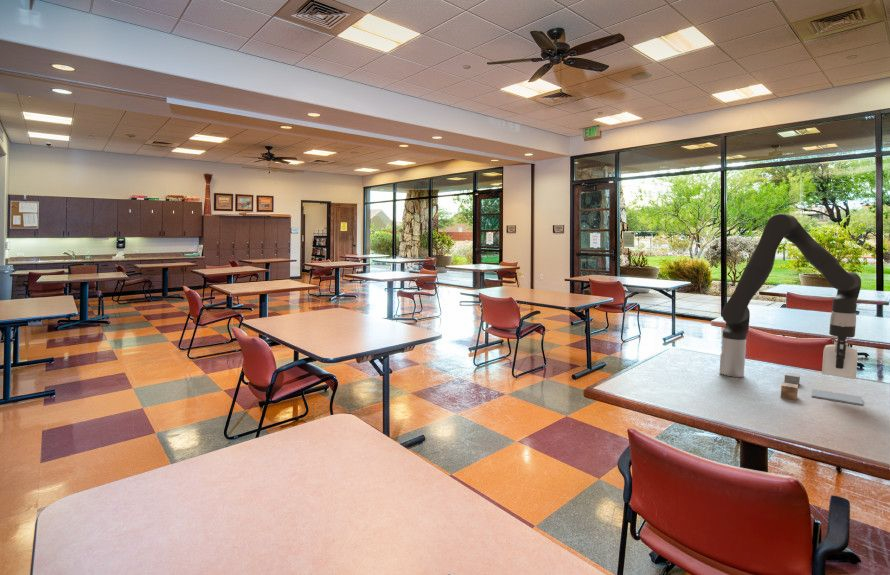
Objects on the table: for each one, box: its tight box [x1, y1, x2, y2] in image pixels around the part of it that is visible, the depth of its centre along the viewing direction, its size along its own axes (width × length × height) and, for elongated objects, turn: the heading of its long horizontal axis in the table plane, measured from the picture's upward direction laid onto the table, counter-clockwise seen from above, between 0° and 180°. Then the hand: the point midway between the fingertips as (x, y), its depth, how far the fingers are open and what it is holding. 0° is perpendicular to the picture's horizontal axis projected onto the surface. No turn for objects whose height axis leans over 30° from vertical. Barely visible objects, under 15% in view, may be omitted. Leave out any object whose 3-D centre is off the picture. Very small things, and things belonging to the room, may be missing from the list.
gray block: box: [783, 372, 801, 387], centre depth 197 cm, size 5×4×4 cm
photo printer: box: [821, 344, 859, 380], centre depth 178 cm, size 10×4×12 cm, turn 40°
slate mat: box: [811, 388, 864, 406], centre depth 180 cm, size 15×10×1 cm, turn 51°
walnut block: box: [780, 381, 799, 401], centre depth 181 cm, size 5×5×5 cm
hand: (839, 366), depth 178 cm, fingers closed on photo printer, 4 cm apart
